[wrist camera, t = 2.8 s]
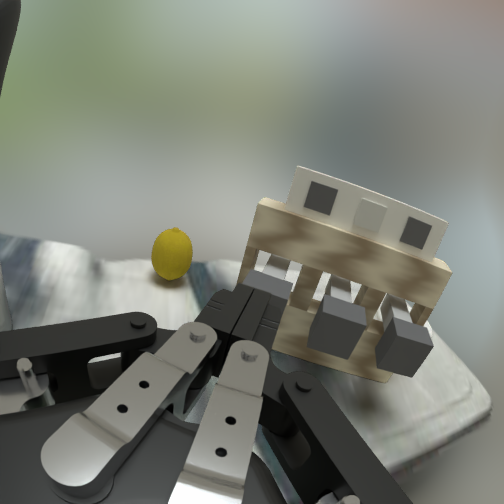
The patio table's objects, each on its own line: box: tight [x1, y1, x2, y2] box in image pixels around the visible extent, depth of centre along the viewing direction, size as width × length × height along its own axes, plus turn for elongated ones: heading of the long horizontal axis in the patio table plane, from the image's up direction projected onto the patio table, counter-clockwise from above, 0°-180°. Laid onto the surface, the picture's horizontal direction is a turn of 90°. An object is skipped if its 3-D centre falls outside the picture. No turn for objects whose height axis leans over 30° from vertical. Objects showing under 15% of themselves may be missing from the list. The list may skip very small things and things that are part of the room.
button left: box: [242, 254, 293, 315], centre depth 31 cm, size 4×10×4 cm, turn 165°
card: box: [284, 166, 449, 262], centre depth 28 cm, size 16×1×4 cm, turn 75°
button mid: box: [307, 274, 367, 360], centre depth 30 cm, size 4×10×4 cm, turn 165°
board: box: [236, 197, 452, 383], centre depth 35 cm, size 21×6×16 cm, turn 75°
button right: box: [375, 293, 434, 377], centre depth 29 cm, size 4×10×4 cm, turn 165°
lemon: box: [151, 228, 193, 281], centre depth 42 cm, size 6×6×8 cm
